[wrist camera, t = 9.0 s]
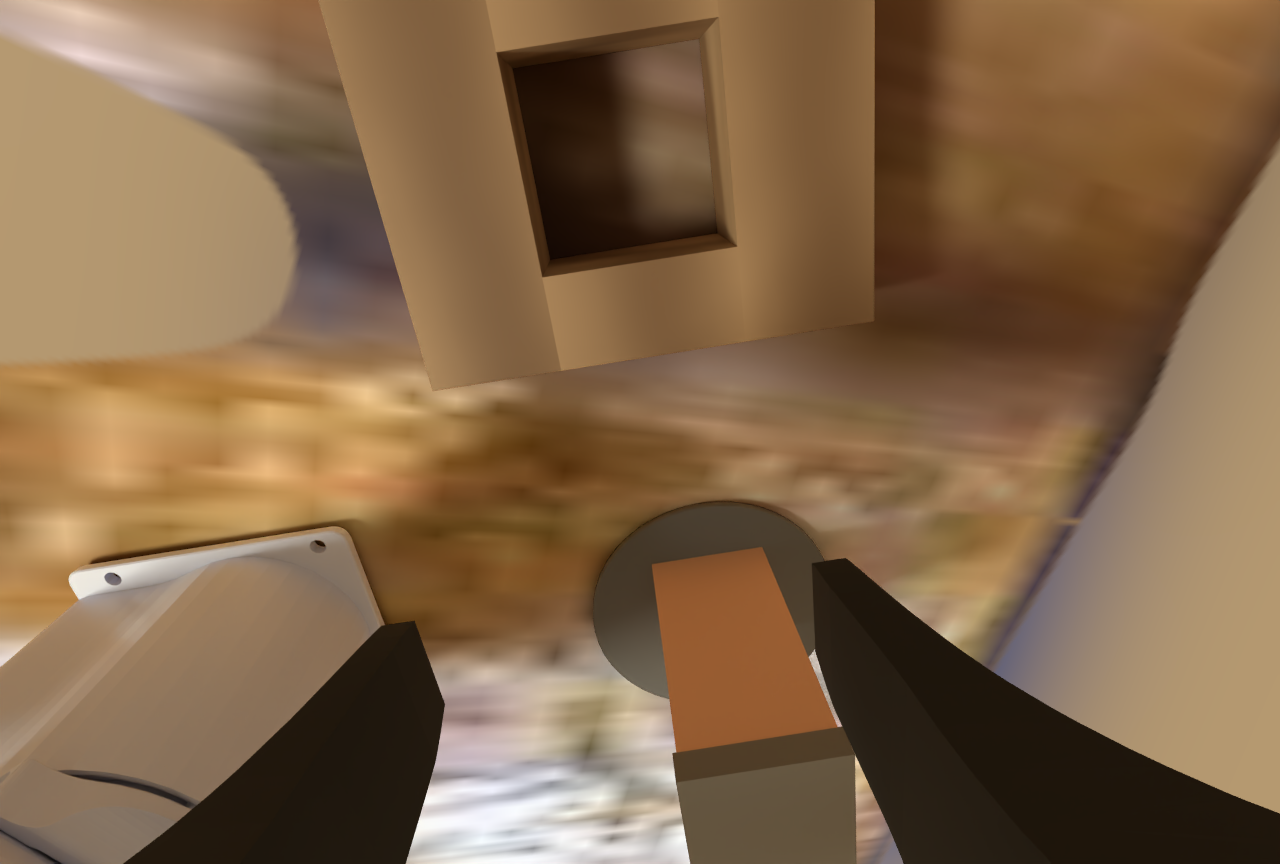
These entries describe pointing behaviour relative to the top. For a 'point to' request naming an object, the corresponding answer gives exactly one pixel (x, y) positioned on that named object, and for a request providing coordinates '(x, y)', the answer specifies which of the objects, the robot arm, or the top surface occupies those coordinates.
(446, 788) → the top surface
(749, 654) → the plug
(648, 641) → the coaster
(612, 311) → the tan square socket
